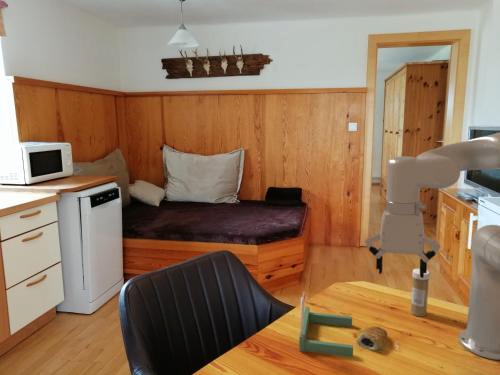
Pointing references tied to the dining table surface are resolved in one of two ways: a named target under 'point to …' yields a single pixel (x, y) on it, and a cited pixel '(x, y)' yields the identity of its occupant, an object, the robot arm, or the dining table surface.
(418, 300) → the sprinkles bottle
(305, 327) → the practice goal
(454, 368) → the dining table surface
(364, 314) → the dining table surface
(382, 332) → the pastry
